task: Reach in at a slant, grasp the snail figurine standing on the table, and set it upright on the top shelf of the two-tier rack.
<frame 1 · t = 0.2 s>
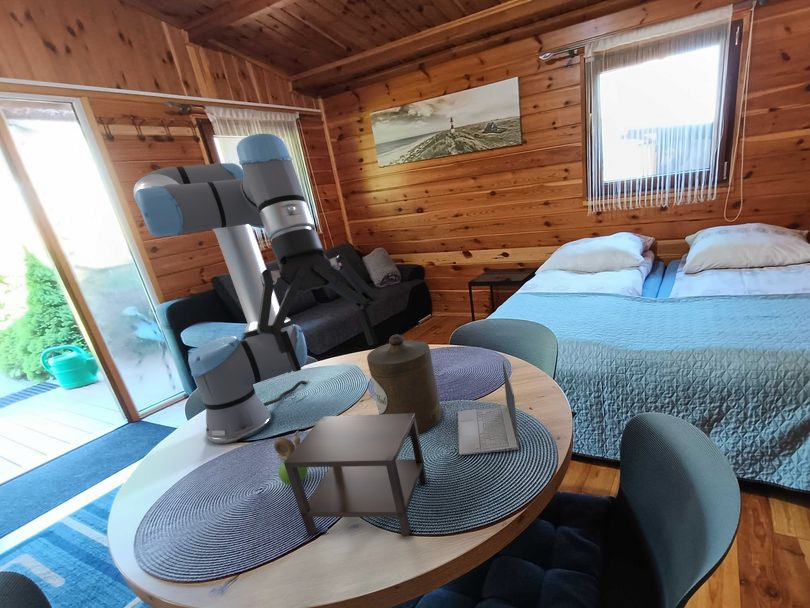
hand: (337, 357, 73), 28 cm above the table, tool tilted 20°, fingers open, 13 cm apart
laptop: (486, 431, 98), on the table
rack: (371, 506, 79), on the table
wooden container: (411, 420, 106), on the table
snail figurine: (299, 482, 88), on the table
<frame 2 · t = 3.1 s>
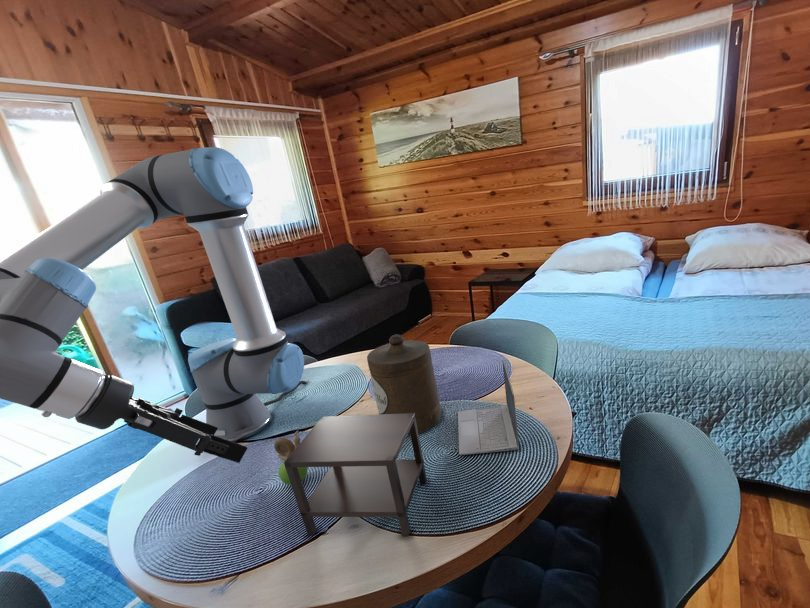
hand: (227, 444, 76), 15 cm above the table, tool tilted 40°, fingers open, 13 cm apart
nothing on the table moved.
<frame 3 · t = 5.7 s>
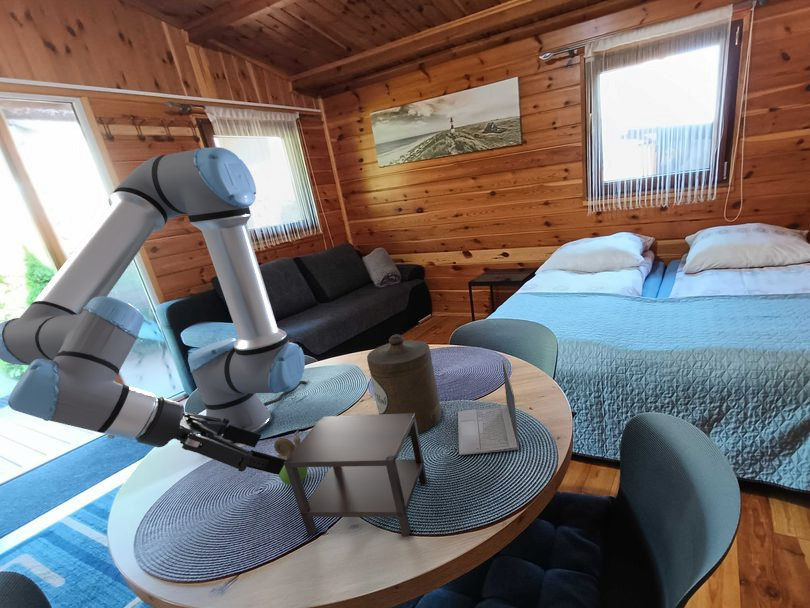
hand: (269, 453, 83), 9 cm above the table, tool tilted 45°, fingers open, 13 cm apart
nothing on the table moved.
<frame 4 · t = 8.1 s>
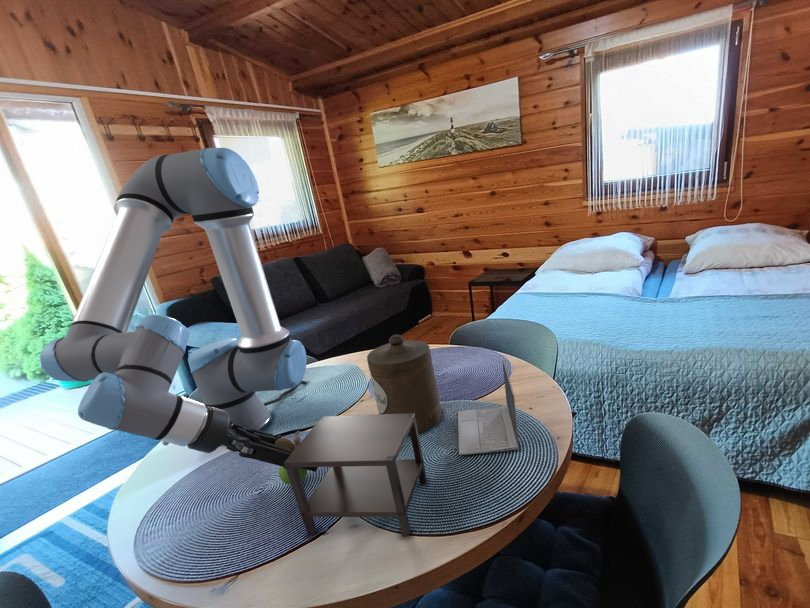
hand: (312, 459, 89), 3 cm above the table, tool tilted 45°, fingers closed on snail figurine, 5 cm apart
snail figurine: (299, 482, 88), on the table, touching gripper
everything else where it was.
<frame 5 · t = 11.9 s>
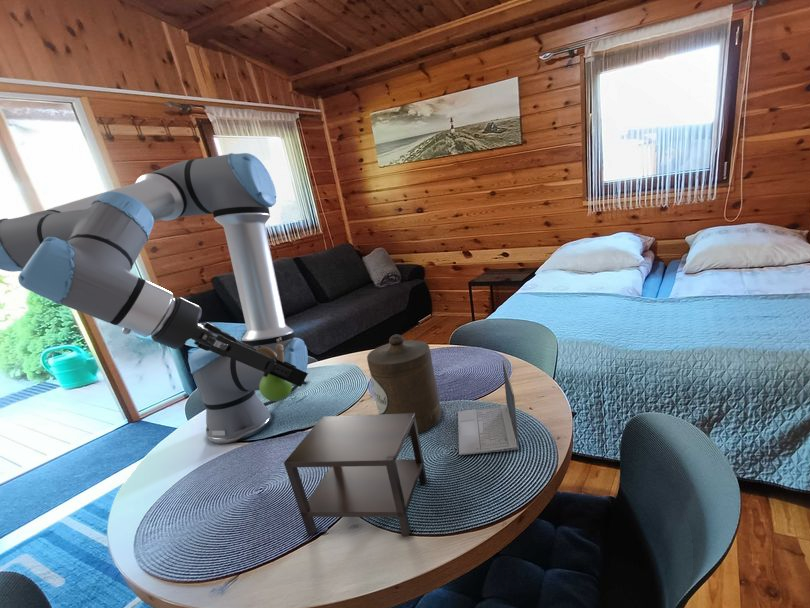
hand: (297, 375, 80), 23 cm above the table, tool tilted 45°, fingers closed on snail figurine, 5 cm apart
snail figurine: (282, 400, 79), point 19 cm above the table, touching gripper
everything else where it was.
when the fingers open (18 cm above the table, at t = 16.0 s): snail figurine stays where it is, resting on rack.
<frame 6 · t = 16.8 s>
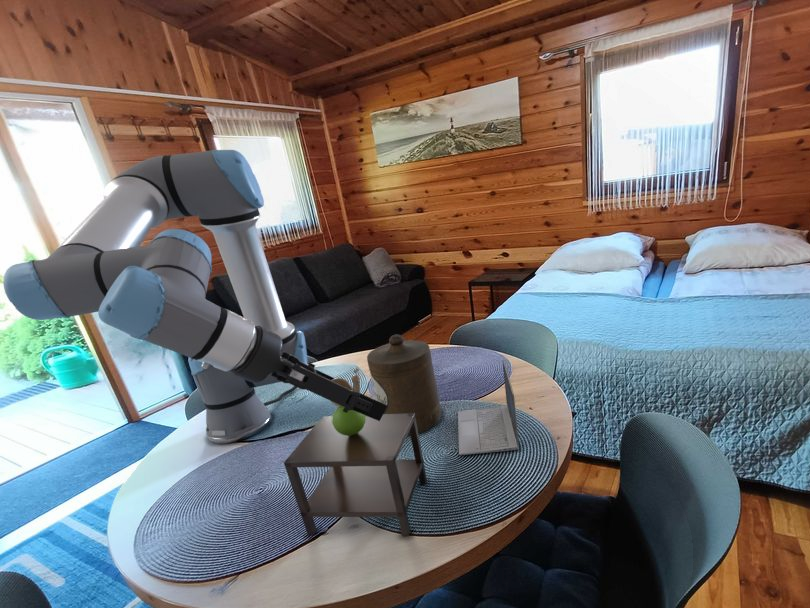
hand: (361, 400, 74), 20 cm above the table, tool tilted 45°, fingers open, 13 cm apart
snail figurine: (355, 433, 74), point 15 cm above the table, touching rack
everything else where it was.
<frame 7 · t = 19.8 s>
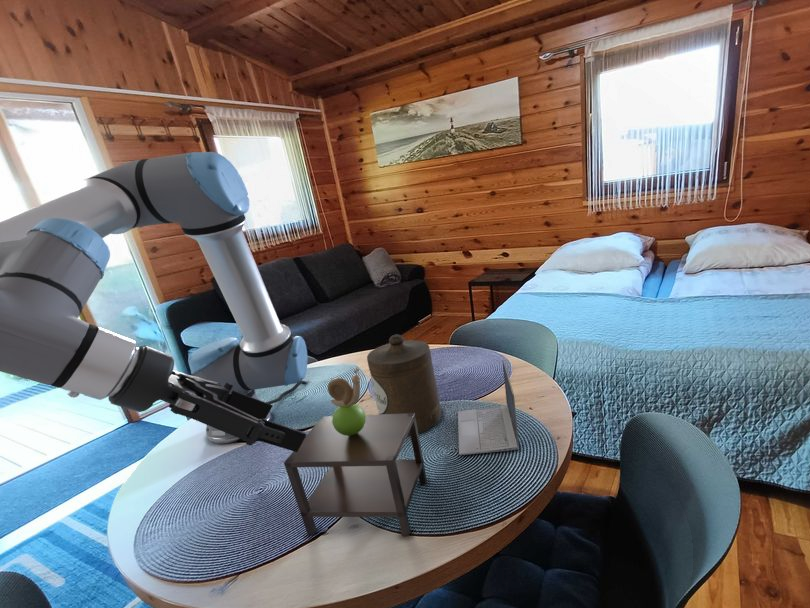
hand: (283, 426, 65), 22 cm above the table, tool tilted 45°, fingers open, 13 cm apart
nothing on the table moved.
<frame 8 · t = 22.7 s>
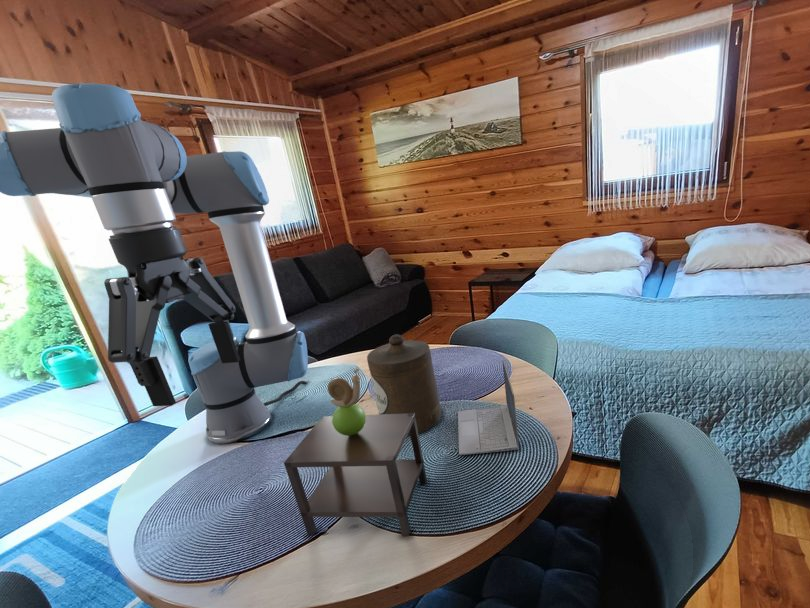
hand: (201, 381, 62), 31 cm above the table, tool pointing down, fingers open, 13 cm apart
nothing on the table moved.
at the end: snail figurine inside the target area on the rack (0.9 cm from its centre), point 14.8 cm above the rack's base; snail figurine tilted 0°; the gripper is holding nothing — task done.
